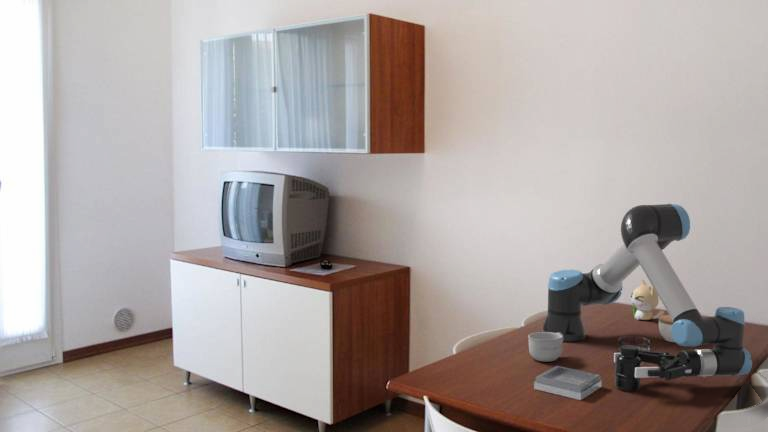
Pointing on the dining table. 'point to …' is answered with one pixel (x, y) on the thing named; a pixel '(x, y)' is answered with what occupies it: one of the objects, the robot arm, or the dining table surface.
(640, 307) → the kitten
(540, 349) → the teacup
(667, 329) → the lidded jar
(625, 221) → the robot arm
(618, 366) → the supplement bottle
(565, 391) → the shadow box frame
